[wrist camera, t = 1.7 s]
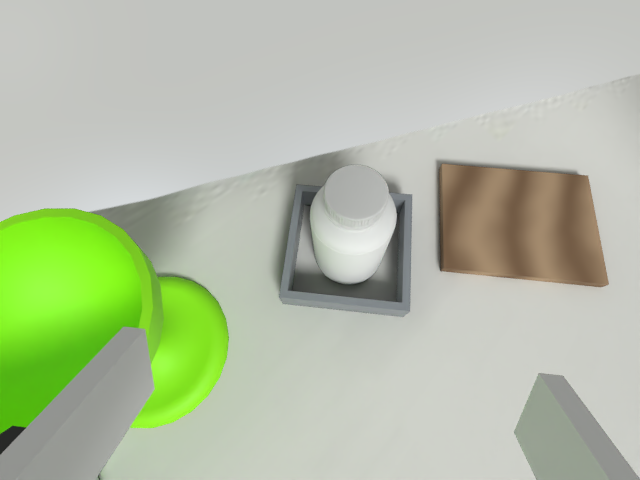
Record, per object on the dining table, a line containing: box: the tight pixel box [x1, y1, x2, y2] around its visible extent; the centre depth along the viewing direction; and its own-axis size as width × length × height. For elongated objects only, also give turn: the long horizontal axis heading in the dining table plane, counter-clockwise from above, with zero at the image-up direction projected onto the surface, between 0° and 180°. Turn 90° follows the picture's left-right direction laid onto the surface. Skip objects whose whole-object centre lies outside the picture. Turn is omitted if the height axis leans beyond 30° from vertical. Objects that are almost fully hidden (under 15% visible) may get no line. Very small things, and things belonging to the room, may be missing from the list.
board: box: [439, 164, 609, 287], centre depth 42 cm, size 18×14×1 cm
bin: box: [279, 185, 412, 317], centre depth 40 cm, size 14×14×4 cm
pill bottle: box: [310, 165, 397, 284], centre depth 35 cm, size 8×8×15 cm
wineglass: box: [0, 209, 229, 434], centre depth 30 cm, size 16×16×18 cm
